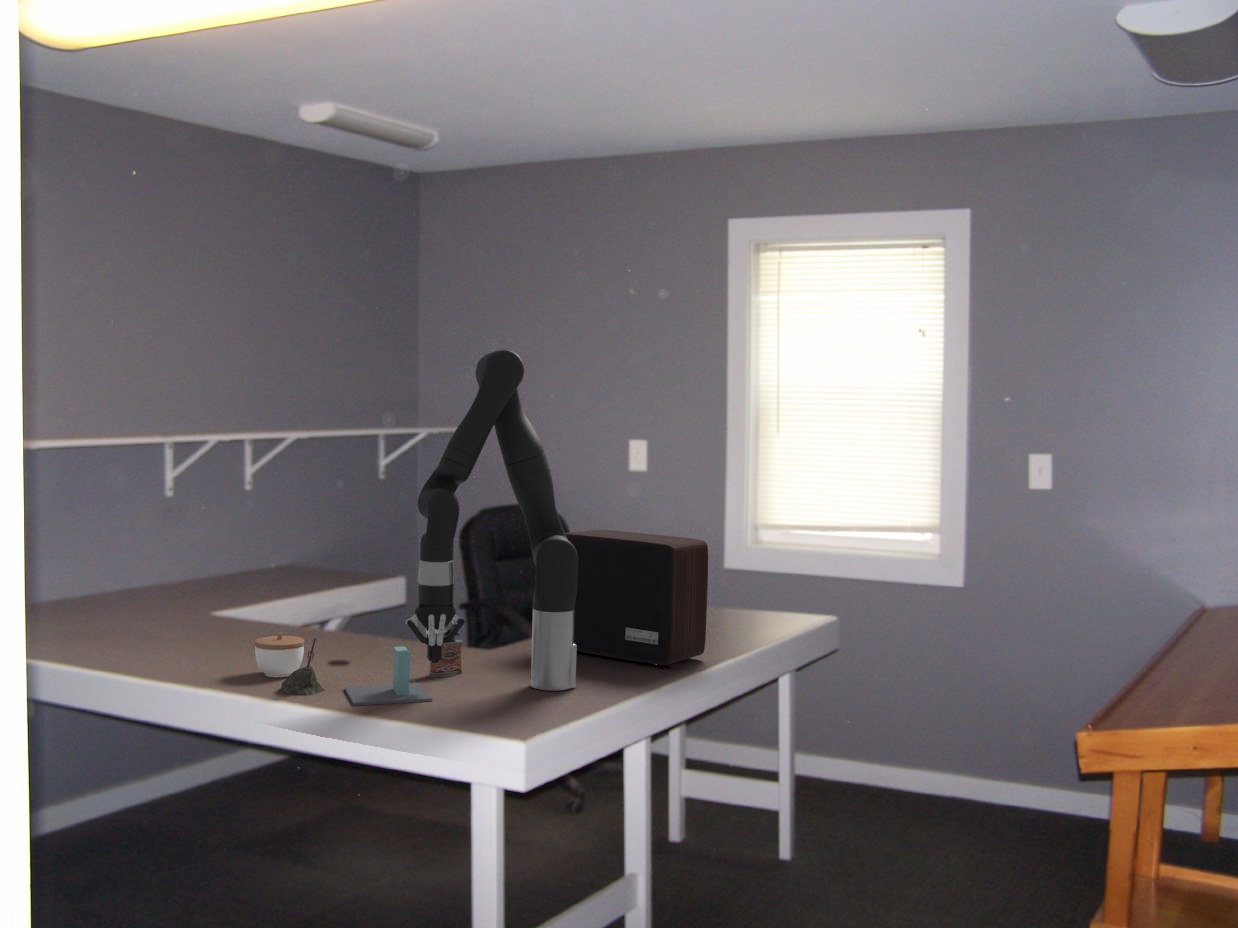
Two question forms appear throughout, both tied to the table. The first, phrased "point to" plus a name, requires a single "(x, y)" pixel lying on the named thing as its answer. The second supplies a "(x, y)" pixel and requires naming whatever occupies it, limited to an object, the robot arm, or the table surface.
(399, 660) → the tile
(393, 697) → the mat
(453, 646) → the lighter
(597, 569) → the radio
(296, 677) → the sword in stone
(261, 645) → the lidded jar
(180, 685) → the table surface
